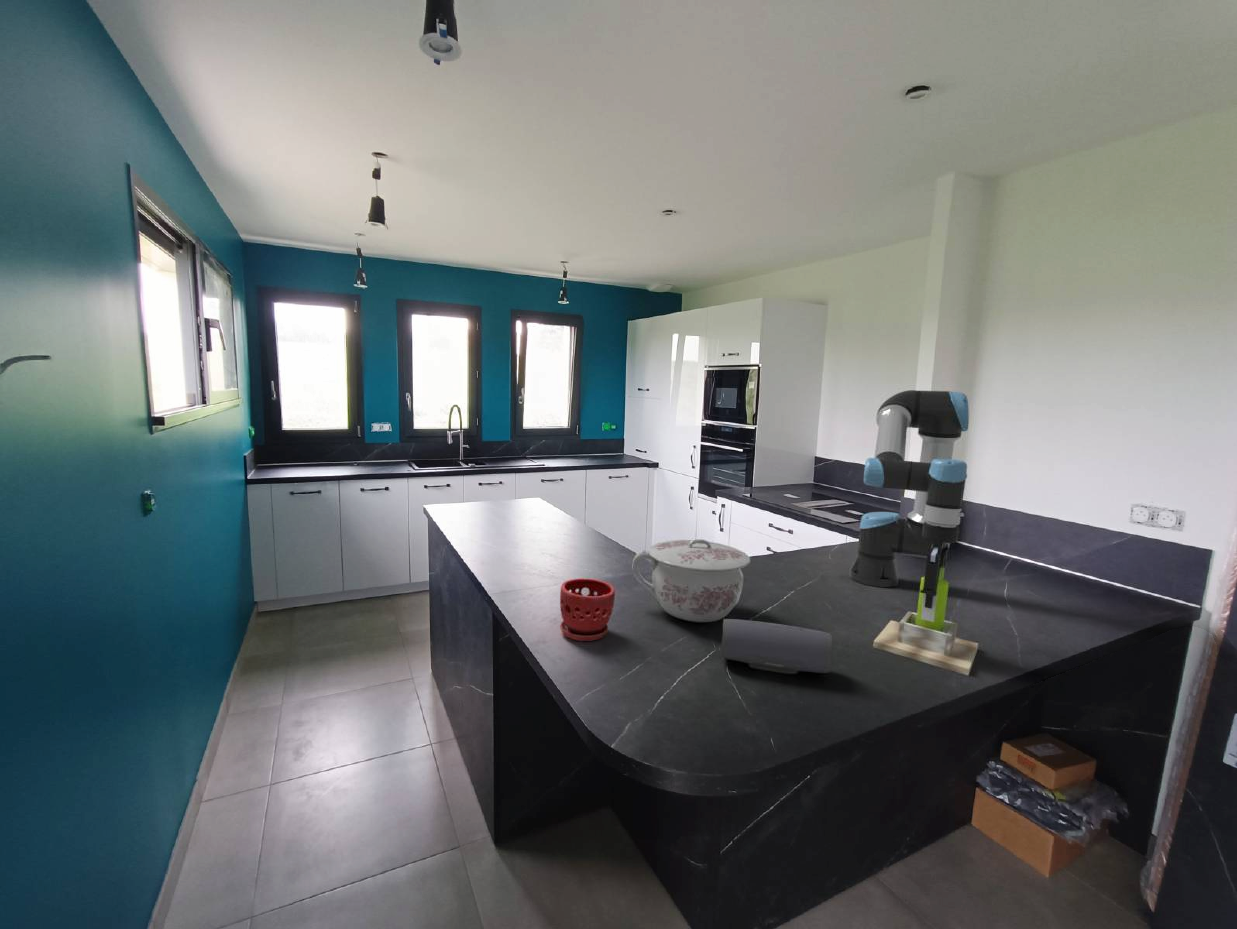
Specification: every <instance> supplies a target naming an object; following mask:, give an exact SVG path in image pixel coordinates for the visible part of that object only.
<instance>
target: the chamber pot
mask: <svg viewBox="0 0 1237 929" xmlns="http://www.w3.org/2000/svg"><path fill="white" fill-rule="evenodd" d="M642 559H646V560H648V561H650V563H651V564H650V570H651V580H652V583H650V582H649V581H647V580H646V579H644V577H643V576H642V575H641V573H640V572H639V567H638V566H639V563H640V560H642ZM750 564H751V557H750V556H749V555H748V554H746V552H745V551H742V550H740V549H738V548H735V547H732V546H729V545H726V544H722V543H718V542H714V541H708V540H706V539H703V538H702V539H701V538H700V539H676V540H669V541H667V540H666V541H661V542H658V543H655V544H653V545H651V546H650V547H649V549H648V550H647V551H646V550H640V551H638V552H637V553H636V554H635V556H634V558H633V559H632V565H631V570H632V574H633V576H634V577H635V578H636V580H637V582H638V583H639V584H641V585H642V586H644V587H645V588H646V589H648V590H649V592H650V593H651V594H652V596H654V598H655V600H656V601H658V602H659V604H660V605H661V607H662V609H663V610H664V611H665V612H666V613H667V614H668V615H669V616H672V617H674V618H677V619H679V620H682V621H687V622H691V623H710V622H717V621H719V620H722V619H723V620H724V619H725V618H726V617H727V616H728V615H729V614H730V612H731V611H732V610H733V609H734V608H735V606H736V605H737V604H738V602H739V600H740V597H741V594H742V591H743V587H744V586H743V585H744V573H743V570H742V569H743V568H745V567H747V566H748V565H750Z"/></svg>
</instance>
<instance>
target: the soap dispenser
mask: <svg viewBox="0 0 1237 929" xmlns="http://www.w3.org/2000/svg"><path fill="white" fill-rule="evenodd" d="M939 564H940V563H939ZM944 570H946V567H945V568H944V567H942V568H940V574H939V580H938V586H937V592H936V593H937V594H936V595H937V600H936V608H935V615H934V622H931V621H927V620H924V619H921V611H922V603H923V595H924V593H920V592H919V594H918V602H917V609H916V610H917V611H916V613H917V617H916V625H917V626H921V627H925V628H928V629H932V630H936V631H940V632H943V626H944V620H945V618H946V611H947V610H946V609H947V601H948V594H949V593H948V592H949V588H950V587H949V585H950V582H949V581H947V580H946V579H945V572H944ZM943 578H944V580H943ZM924 579H925V576H922V577H921V578H920V585H919V591H920V590H923V586H924Z"/></svg>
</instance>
